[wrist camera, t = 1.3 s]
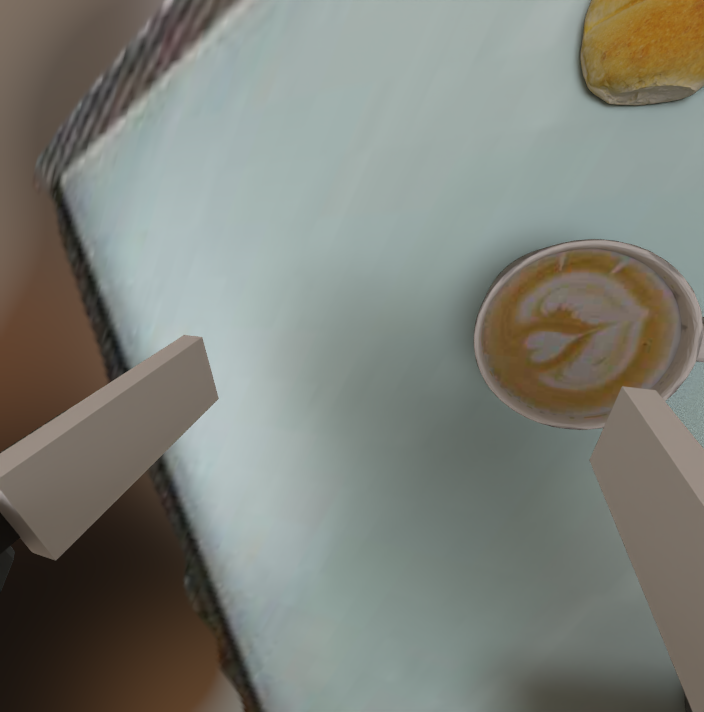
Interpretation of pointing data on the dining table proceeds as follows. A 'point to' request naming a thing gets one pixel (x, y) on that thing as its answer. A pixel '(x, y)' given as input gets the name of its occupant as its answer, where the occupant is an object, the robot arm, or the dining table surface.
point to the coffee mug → (586, 331)
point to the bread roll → (643, 50)
